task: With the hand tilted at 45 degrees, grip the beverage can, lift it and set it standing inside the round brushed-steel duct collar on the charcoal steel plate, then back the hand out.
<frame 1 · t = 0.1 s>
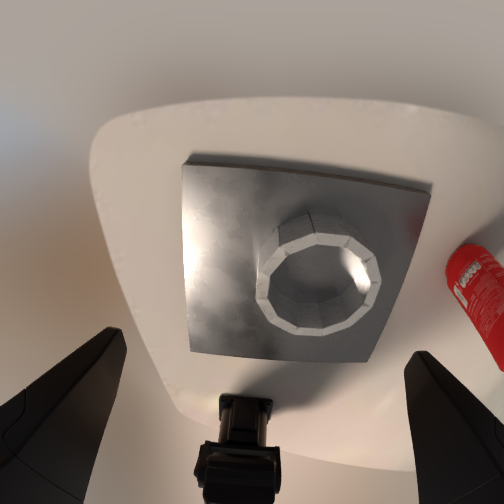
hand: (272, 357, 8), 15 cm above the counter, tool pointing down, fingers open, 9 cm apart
beverage can: (462, 263, 23), on the counter
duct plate: (296, 280, 24), on the counter
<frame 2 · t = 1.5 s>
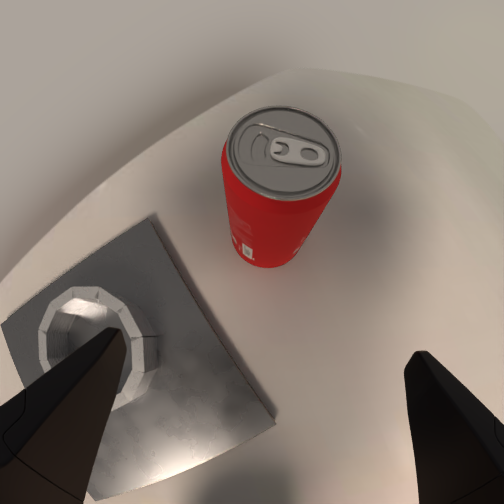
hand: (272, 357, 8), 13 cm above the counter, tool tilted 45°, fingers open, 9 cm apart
beverage can: (265, 238, 23), on the counter
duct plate: (112, 376, 20), on the counter
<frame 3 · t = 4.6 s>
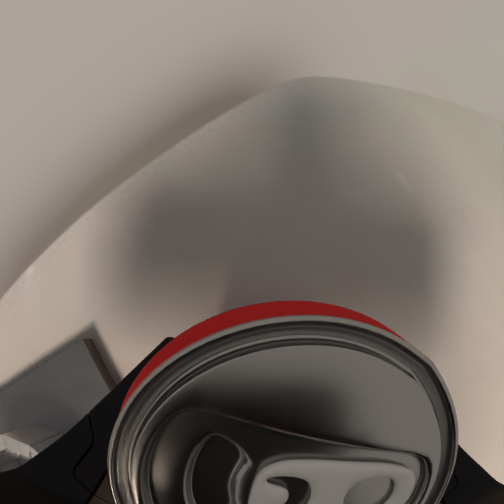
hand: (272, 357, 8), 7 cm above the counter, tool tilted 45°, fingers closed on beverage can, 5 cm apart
beverage can: (258, 372, 14), on the counter, touching gripper
when the fingers open (9 cm above the counter, at t = 9.2 s): beverage can stays where it is, resting on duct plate.
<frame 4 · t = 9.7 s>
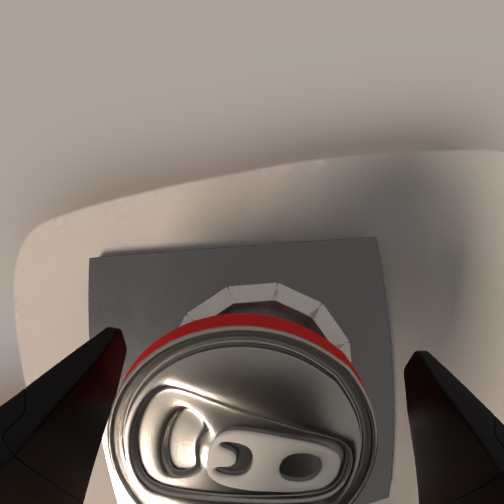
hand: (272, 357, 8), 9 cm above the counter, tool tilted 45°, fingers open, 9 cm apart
beverage can: (244, 370, 16), point 1 cm above the counter, touching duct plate
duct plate: (242, 400, 16), on the counter
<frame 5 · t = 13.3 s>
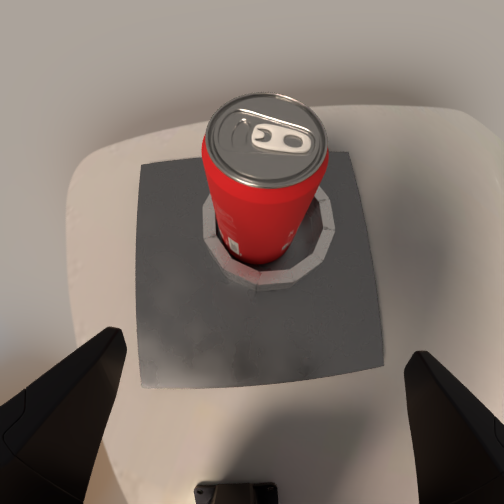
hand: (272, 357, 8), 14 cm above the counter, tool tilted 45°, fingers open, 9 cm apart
beverage can: (256, 234, 23), point 1 cm above the counter, touching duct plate
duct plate: (254, 262, 23), on the counter
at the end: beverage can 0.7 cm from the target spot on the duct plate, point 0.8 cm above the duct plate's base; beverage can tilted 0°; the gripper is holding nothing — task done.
